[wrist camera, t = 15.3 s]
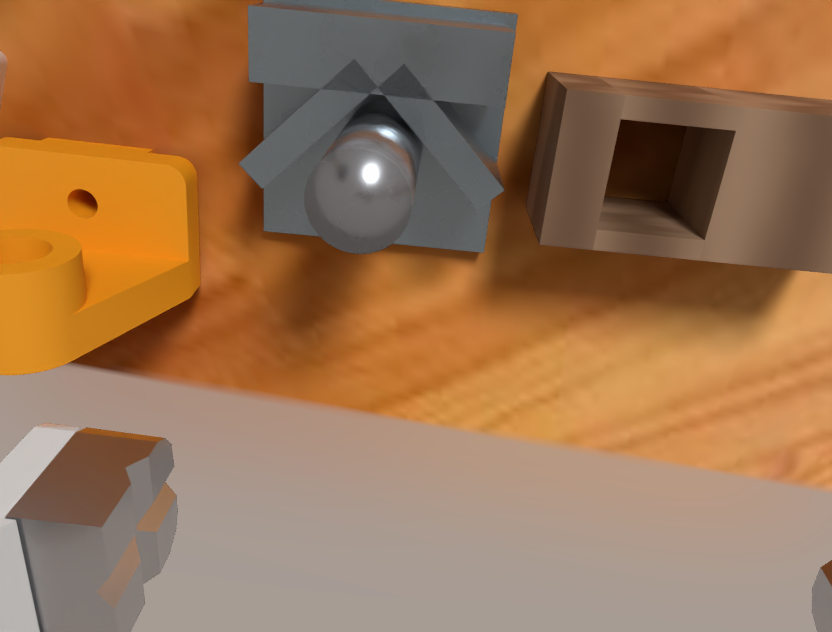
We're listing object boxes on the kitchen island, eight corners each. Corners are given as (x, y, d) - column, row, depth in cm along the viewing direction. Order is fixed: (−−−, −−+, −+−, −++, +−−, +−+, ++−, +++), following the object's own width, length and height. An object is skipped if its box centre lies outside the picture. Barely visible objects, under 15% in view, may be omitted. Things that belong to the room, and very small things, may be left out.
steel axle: (427, 104, 35) (417, 155, 25) (419, 183, 37) (406, 259, 27) (347, 95, 35) (306, 143, 25) (343, 174, 37) (302, 247, 27)
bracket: (201, 154, 38) (106, 226, 27) (205, 278, 41) (120, 388, 30) (-1, 131, 38) (-179, 195, 27) (18, 258, 41) (-134, 361, 30)
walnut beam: (865, 103, 36) (940, 127, 30) (817, 235, 39) (878, 278, 33) (548, 71, 35) (567, 89, 30) (525, 206, 38) (539, 244, 33)
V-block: (515, 13, 34) (529, 20, 29) (482, 246, 40) (489, 289, 34) (268, -12, 34) (235, -10, 29) (267, 225, 39) (240, 265, 34)
